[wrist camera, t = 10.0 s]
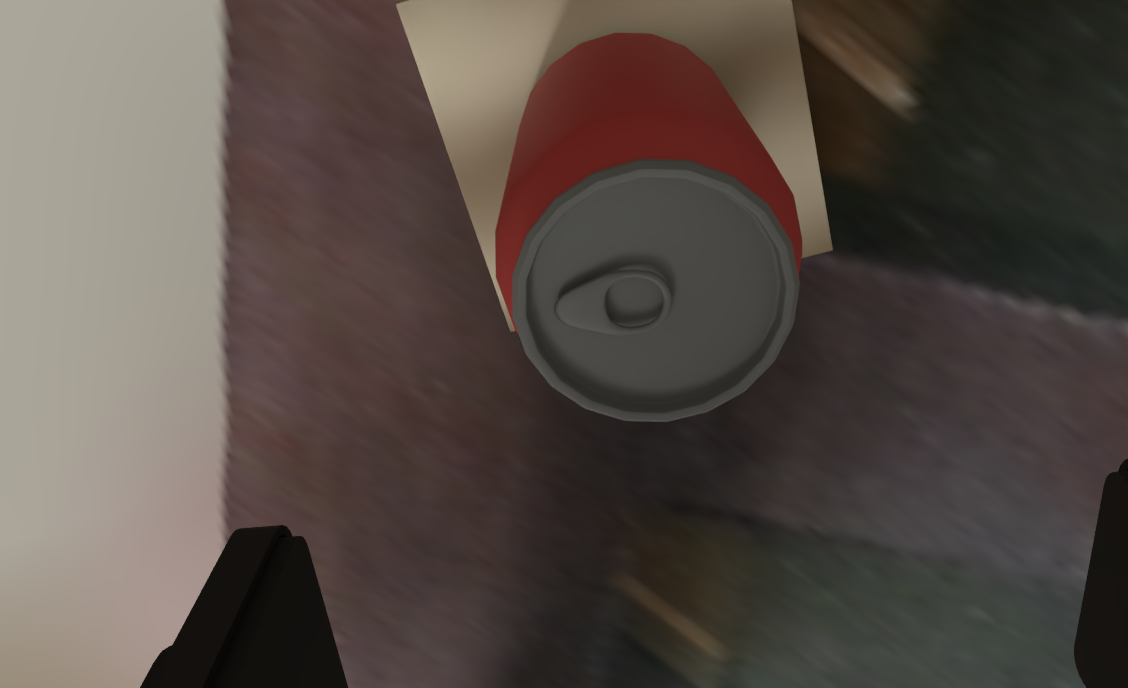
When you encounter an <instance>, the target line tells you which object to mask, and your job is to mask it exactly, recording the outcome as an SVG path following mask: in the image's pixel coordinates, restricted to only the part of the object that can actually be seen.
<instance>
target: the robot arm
mask: <svg viewBox="0 0 1128 688" xmlns="http://www.w3.org/2000/svg"><path fill="white" fill-rule="evenodd" d="M1074 657H1075V663H1076V667H1077V670H1078V673H1079V676H1080V677H1081V679H1082V681H1083V683H1084V685H1085V686H1086V688H1128V459H1126V460H1124V462H1123V463H1122V464H1121V465H1120V468H1119V471H1118V472H1113V473H1110V474H1109V475H1108V476H1107V478H1106V480H1105V483H1104V488H1103V494H1102V499H1101V504H1100V510H1099V515H1098V521H1097V526H1096V531H1095V537H1094V542H1093V548H1092V553H1091V559H1090V564H1089V569H1088V575H1087V580H1086V586H1085V591H1084V596H1083V602H1082V607H1081V613H1080V618H1079V624H1078V629H1077V634H1076V640H1075V645H1074ZM140 688H348V685H347V682H346V678H345V675H344V671H343V668H342V664H341V661H340V657H339V654H338V650H337V647H336V643H335V640H334V636H333V633H332V629H331V626H330V622H329V619H328V615H327V612H326V608H325V605H324V601H323V597H322V594H321V590H320V587H319V583H318V580H317V576H316V573H315V569H314V566H313V562H312V559H311V555H310V552H309V548H308V545H307V543H306V540H305V539H304V538H303V537H302V536H294V537H292V534H291V532H290V530H289V529H288V528H287V527H286V526H283V525H279V526H266V527H253V528H241V529H237V530H235V531H234V532H233V534H232V535H231V537H230V538H229V540H228V542H227V544H226V546H225V548H224V550H223V552H222V554H221V555H220V557H219V559H218V561H217V563H216V565H215V567H214V568H213V571H212V572H211V574H210V576H209V578H208V580H207V582H206V584H205V586H204V587H203V589H202V591H201V593H200V595H199V596H198V598H197V600H196V602H195V604H194V606H193V608H192V610H191V611H190V613H189V615H188V617H187V619H186V621H185V623H184V625H183V626H182V629H181V630H180V632H179V634H178V636H177V638H176V639H175V641H174V643H173V645H172V646H169V647H168V648H166V649H165V650H163V651H162V652H161V653H160V654H159V656H158V657H157V659H156V660H155V662H154V663H153V665H152V667H151V668H150V670H149V672H148V674H147V676H146V678H145V680H144V681H143V683H142V685H141V687H140Z"/></svg>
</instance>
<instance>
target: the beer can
mask: <svg viewBox="0 0 1128 688" xmlns="http://www.w3.org/2000/svg"><path fill="white" fill-rule="evenodd" d="M801 259H802V235H801V230H800V225H799V220H798V215H797V209H796V204H795V199H794V195H793V193H792V191H791V190H790V188H789V186H788V185H787V183H786V181H785V180H784V178H783V176H782V175H781V173H780V171H779V170H778V168H777V166H776V165H775V163H774V161H773V160H772V158H771V156H770V155H769V153H768V152H767V150H766V149H765V147H764V146H763V144H762V143H761V141H760V140H759V138H758V137H757V135H756V134H755V132H754V131H753V129H752V128H751V126H750V125H749V123H748V122H747V120H746V119H745V117H744V116H743V114H742V113H741V111H740V110H739V108H738V107H737V105H736V104H735V102H734V101H733V99H732V98H731V96H730V95H729V93H728V92H727V90H726V89H725V87H724V86H723V84H722V83H721V81H720V80H719V78H718V77H717V75H716V74H715V72H714V71H713V69H712V68H711V67H710V66H708V65H707V64H706V63H705V62H703V61H702V60H701V59H700V58H699V57H697V56H696V55H695V54H694V53H693V52H691V51H690V50H689V49H688V48H687V47H685V46H684V45H681V44H678V43H675V42H673V41H670V40H667V39H665V38H662V37H659V36H657V35H654V34H651V33H612V34H609V35H606V36H602V37H599V38H596V39H593V40H589V41H586V42H583V43H580V44H579V45H577V46H576V47H575V48H573V49H572V50H570V51H569V52H568V53H566V54H565V55H563V56H562V57H561V58H559V59H558V60H556V61H555V62H554V63H552V64H551V65H550V67H549V68H548V69H547V71H546V72H545V73H544V75H543V76H542V77H541V79H540V80H539V81H538V83H537V84H536V86H535V87H534V88H533V90H532V91H531V92H530V95H529V98H528V101H527V104H526V107H525V110H524V113H523V116H522V119H521V122H520V125H519V129H518V134H517V138H516V143H515V147H514V151H513V156H512V160H511V165H510V169H509V173H508V178H507V182H506V186H505V191H504V195H503V200H502V204H501V208H500V213H499V217H498V221H497V226H496V230H495V263H496V279H497V282H498V285H499V287H500V290H501V293H502V296H503V298H504V301H505V304H506V307H507V310H508V312H509V315H510V318H511V321H512V323H513V326H514V329H515V330H516V332H517V333H518V334H519V337H520V340H521V342H522V345H523V348H524V351H525V353H526V356H527V357H528V358H529V359H530V361H531V362H532V363H533V364H534V366H535V367H536V368H537V369H538V371H539V372H540V373H541V374H542V376H543V377H544V378H545V379H546V381H547V382H548V383H549V384H550V386H551V387H553V388H554V389H556V390H557V391H559V392H560V393H562V394H564V395H565V396H567V397H568V398H570V399H571V400H573V401H574V402H576V403H577V404H579V405H580V406H582V407H583V408H585V409H587V410H591V411H594V412H597V413H600V414H604V415H607V416H610V417H613V418H617V419H620V420H623V421H645V422H669V421H673V420H677V419H681V418H685V417H690V416H694V415H698V414H702V413H706V412H709V411H711V410H712V409H714V408H716V407H718V406H720V405H721V404H723V403H725V402H727V401H729V400H730V399H732V398H734V397H736V396H738V395H739V394H741V393H743V392H745V391H746V390H747V389H748V388H749V387H750V386H751V385H752V384H753V383H754V382H755V381H756V380H757V379H758V378H759V377H760V376H761V375H762V374H763V373H764V372H765V371H766V370H767V369H768V368H769V367H770V366H771V365H772V364H773V363H774V362H775V360H776V358H777V356H778V354H779V352H780V350H781V348H782V346H783V344H784V343H785V341H786V339H787V337H788V335H789V333H790V331H791V329H792V327H793V325H794V320H795V314H796V307H797V301H798V294H799V287H800V281H799V272H800V266H801Z"/></svg>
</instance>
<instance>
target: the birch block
mask: <svg viewBox="0 0 1128 688" xmlns="http://www.w3.org/2000/svg"><path fill="white" fill-rule="evenodd" d="M396 6H397V9H398V12H399V15H400V18H401V21H402V23H403V26H404V29H405V32H406V35H407V38H408V41H409V43H410V46H411V49H412V52H413V55H414V58H415V61H416V63H417V66H418V69H419V72H420V75H421V78H422V81H423V83H424V86H425V89H426V92H427V95H428V98H429V101H430V103H431V106H432V109H433V112H434V115H435V118H436V121H437V123H438V126H439V129H440V132H441V135H442V138H443V141H444V143H445V146H446V149H447V152H448V155H449V158H450V161H451V163H452V166H453V169H454V172H455V175H456V178H457V181H458V183H459V186H460V189H461V192H462V195H463V198H464V201H465V203H466V206H467V209H468V212H469V215H470V218H471V221H472V223H473V226H474V229H475V232H476V235H477V238H478V241H479V243H480V246H481V249H482V252H483V255H484V258H485V261H486V263H487V266H488V269H489V272H490V275H491V278H492V281H493V283H494V286H495V289H496V292H497V295H498V298H499V301H500V303H501V306H502V309H503V312H504V315H505V318H506V321H507V323H508V326H509V329H510V332H512V331H516V330H515V329H514V326H513V323H512V321H511V318H510V315H509V312H508V310H507V307H506V304H505V301H504V298H503V296H502V293H501V290H500V287H499V285H498V282H497V279H496V263H495V230H496V226H497V221H498V217H499V213H500V208H501V204H502V200H503V195H504V191H505V186H506V182H507V178H508V173H509V169H510V165H511V160H512V156H513V151H514V147H515V143H516V138H517V134H518V129H519V125H520V122H521V119H522V116H523V113H524V110H525V107H526V104H527V101H528V98H529V95H530V92H531V91H532V90H533V88H534V87H535V86H536V84H537V83H538V81H539V80H540V79H541V77H542V76H543V75H544V73H545V72H546V71H547V69H548V68H549V67H550V65H551V64H552V63H554V62H555V61H556V60H558V59H559V58H561V57H562V56H563V55H565V54H566V53H568V52H569V51H570V50H572V49H573V48H575V47H576V46H577V45H579V44H580V43H583V42H586V41H589V40H593V39H596V38H599V37H602V36H606V35H609V34H612V33H651V34H654V35H657V36H659V37H662V38H665V39H667V40H670V41H673V42H675V43H678V44H681V45H684V46H685V47H687V48H688V49H689V50H690V51H691V52H693V53H694V54H695V55H696V56H697V57H699V58H700V59H701V60H702V61H703V62H705V63H706V64H707V65H708V66H710V67H711V68H712V69H713V71H714V72H715V74H716V75H717V77H718V78H719V80H720V81H721V83H722V84H723V86H724V87H725V89H726V90H727V92H728V93H729V95H730V96H731V98H732V99H733V101H734V102H735V104H736V105H737V107H738V108H739V110H740V111H741V113H742V114H743V116H744V117H745V119H746V120H747V122H748V123H749V125H750V126H751V128H752V129H753V131H754V132H755V134H756V135H757V137H758V138H759V140H760V141H761V143H762V144H763V146H764V147H765V149H766V150H767V152H768V153H769V155H770V156H771V158H772V160H773V161H774V163H775V165H776V166H777V168H778V170H779V171H780V173H781V175H782V176H783V178H784V180H785V181H786V183H787V185H788V186H789V188H790V190H791V191H792V193H793V195H794V199H795V204H796V209H797V215H798V220H799V225H800V230H801V235H802V258H804V257H808V256H812V255H816V254H820V253H824V252H828V251H832V250H833V248H832V242H831V236H830V230H829V224H828V218H827V212H826V206H825V199H824V193H823V187H822V181H821V175H820V169H819V163H818V157H817V151H816V145H815V139H814V133H813V127H812V121H811V115H810V109H809V103H808V97H807V91H806V84H805V78H804V72H803V66H802V60H801V54H800V48H799V42H798V36H797V30H796V24H795V18H794V12H793V6H792V0H401V1H400V2H398V3H397V4H396Z"/></svg>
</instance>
